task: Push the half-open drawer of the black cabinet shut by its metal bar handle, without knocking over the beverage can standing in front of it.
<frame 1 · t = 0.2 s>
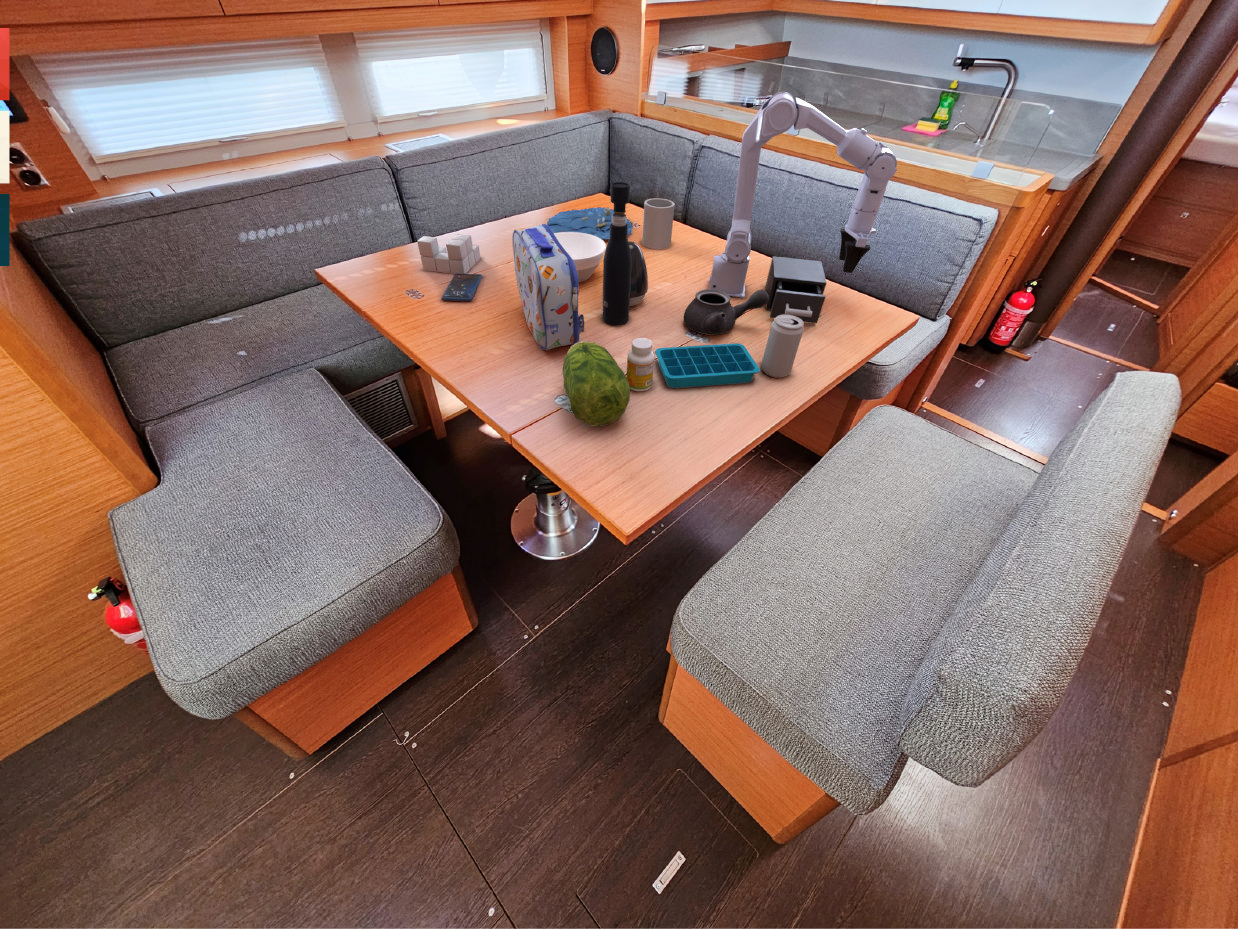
hand: (845, 265, 129), 10 cm above the table, tool pointing down, fingers open, 7 cm apart
cup: (656, 244, 162), on the table
lettuce: (591, 401, 101), on the table
drawer: (796, 300, 127), point 4 cm above the table, slide at 5.0 cm
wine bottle: (615, 320, 125), on the table
cabinet: (789, 300, 136), on the table
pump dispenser: (626, 302, 132), on the table
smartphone: (462, 289, 134), on the table
bowl: (570, 275, 143), on the table
supplement bottle: (638, 385, 106), on the table
blue sea diorama: (591, 228, 171), on the table
teapot: (722, 329, 124), on the table
puzzle cube: (453, 264, 145), on the table
ice cube tray: (704, 372, 110), on the table
lunch box: (549, 330, 120), on the table
beverage can: (774, 372, 111), on the table
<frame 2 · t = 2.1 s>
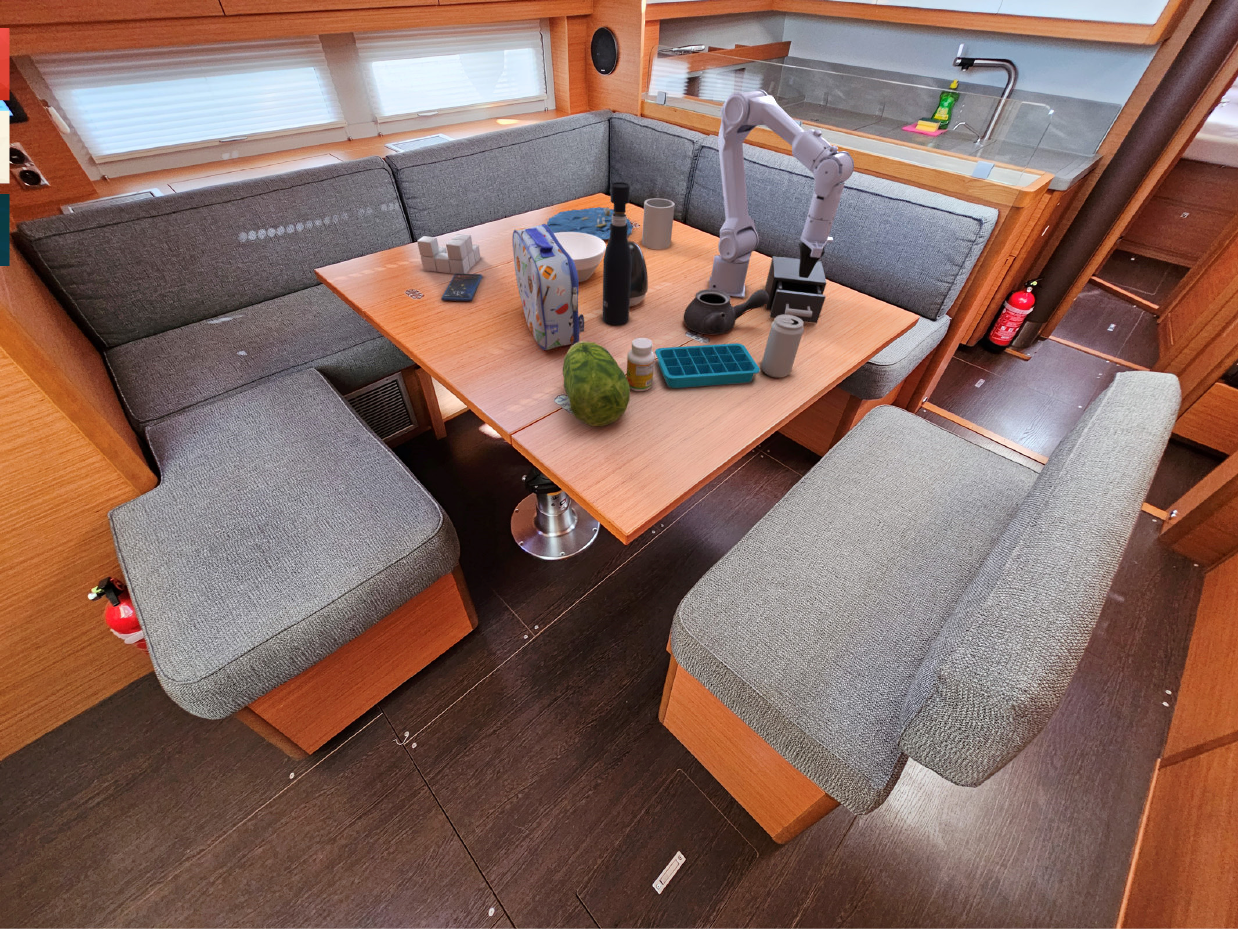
hand: (803, 276, 122), 10 cm above the table, tool pointing down, fingers closed
nothing on the table moved.
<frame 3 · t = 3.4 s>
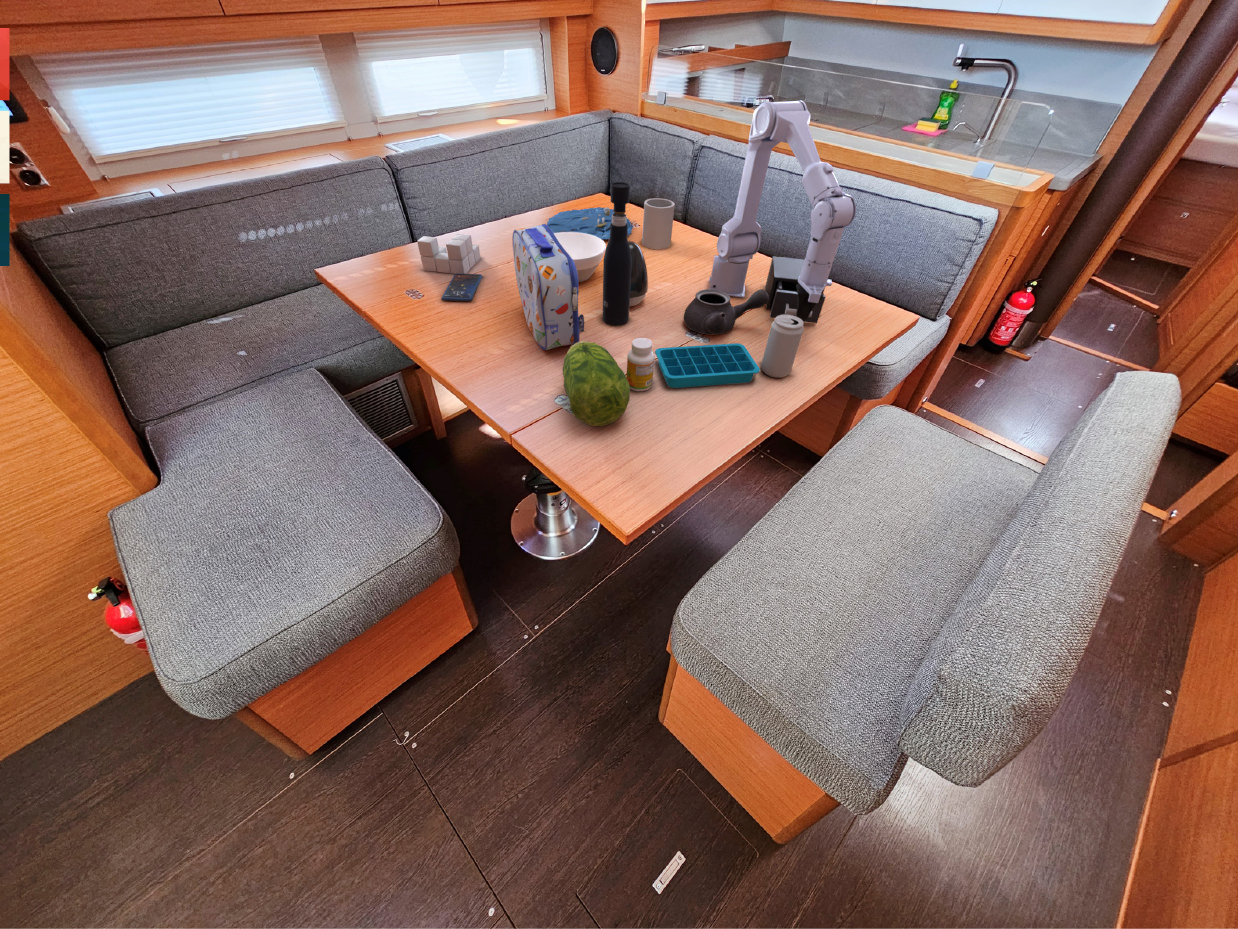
hand: (801, 318, 117), 6 cm above the table, tool pointing down, fingers closed
nothing on the table moved.
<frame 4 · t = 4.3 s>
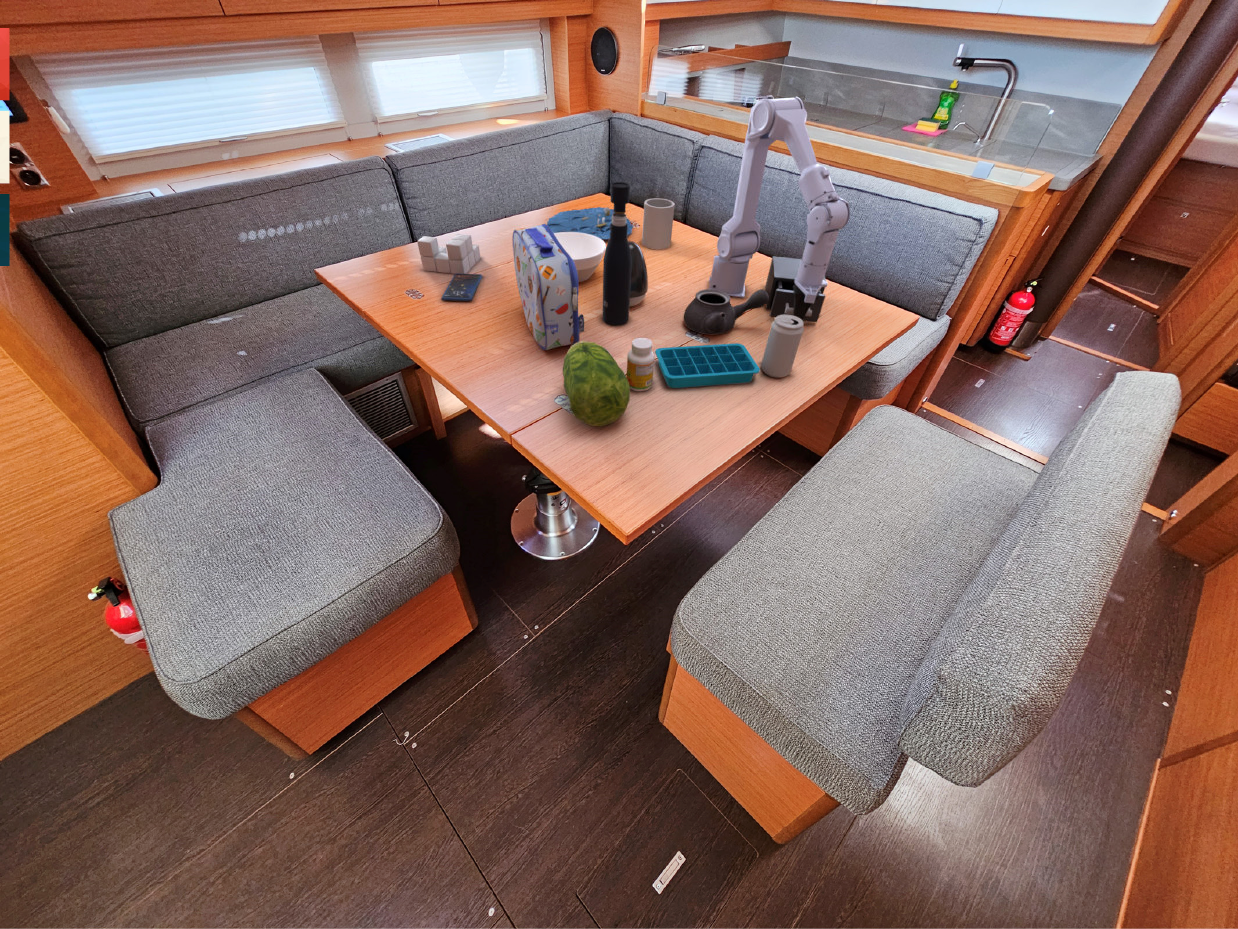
hand: (797, 318, 121), 4 cm above the table, tool pointing down, fingers closed
drawer: (795, 299, 127), point 4 cm above the table, slide at 4.6 cm, touching gripper
everything else where it was.
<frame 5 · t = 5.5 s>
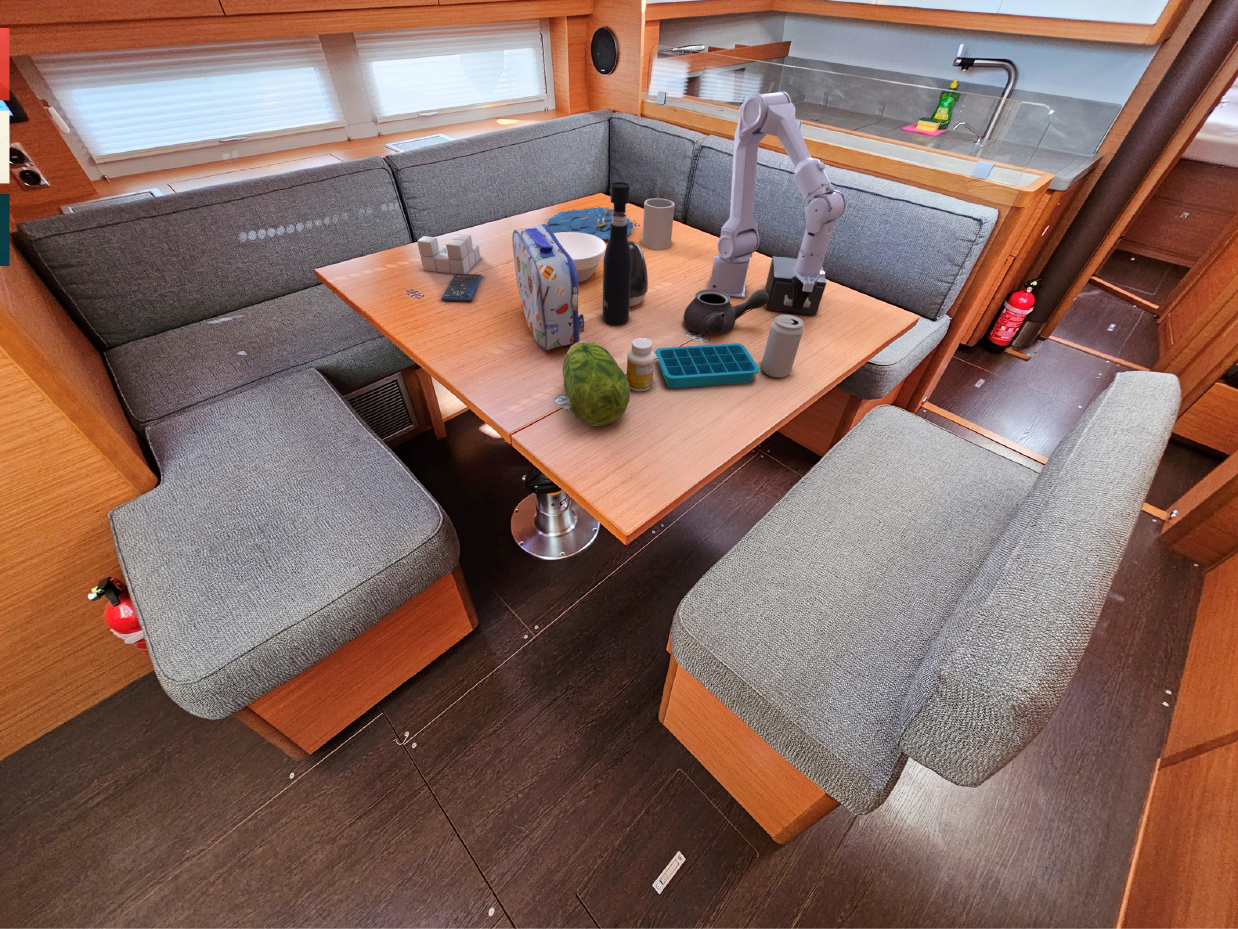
hand: (796, 308, 125), 4 cm above the table, tool pointing down, fingers closed, pressing on drawer
drawer: (794, 291, 130), point 4 cm above the table, slide at 0.0 cm, touching cabinet, gripper
everything else where it was.
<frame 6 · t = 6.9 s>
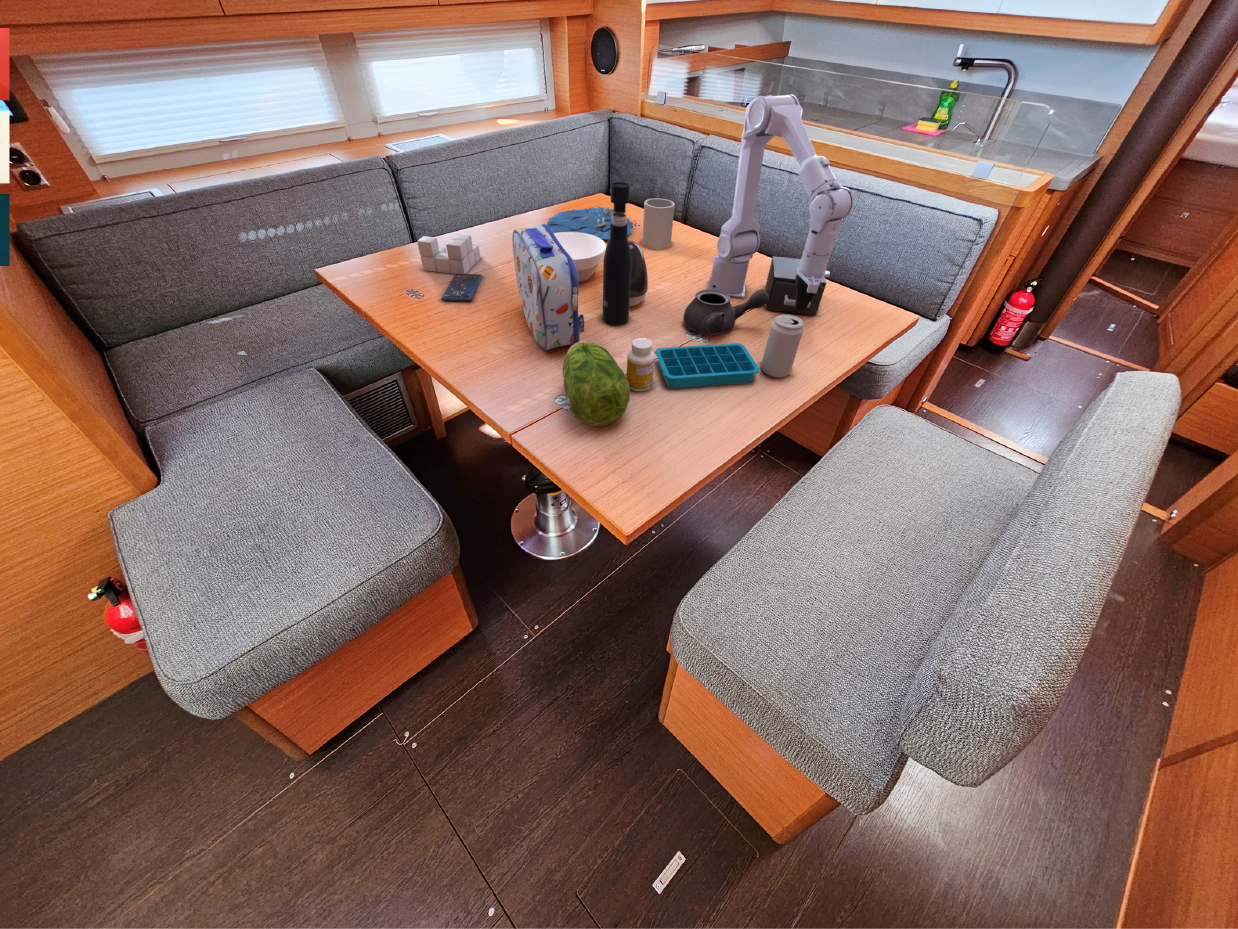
hand: (799, 309, 120), 6 cm above the table, tool pointing down, fingers closed
drawer: (794, 291, 130), point 4 cm above the table, slide at 0.0 cm, touching cabinet
everything else where it was.
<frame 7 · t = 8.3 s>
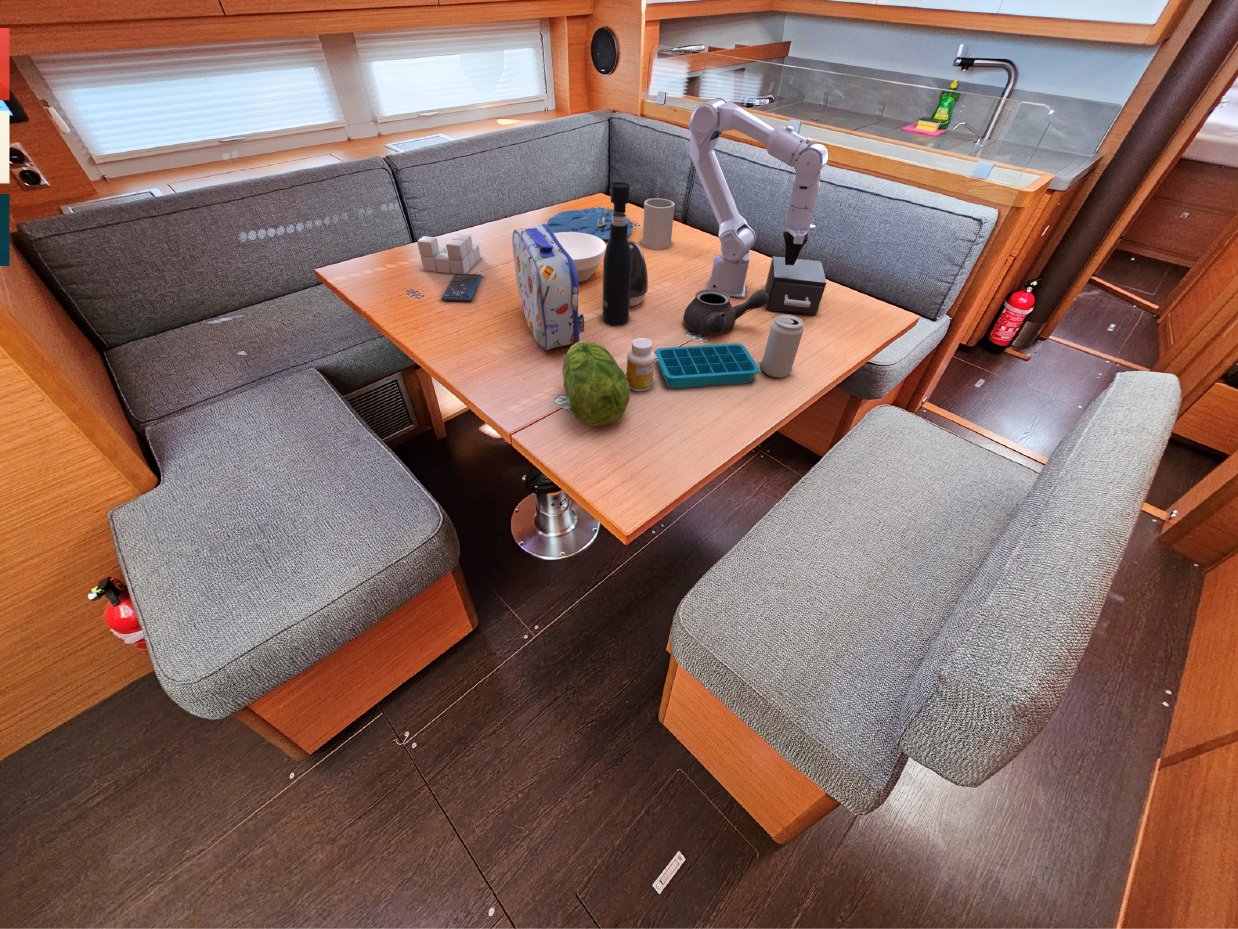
hand: (789, 264, 128), 10 cm above the table, tool pointing down, fingers closed
nothing on the table moved.
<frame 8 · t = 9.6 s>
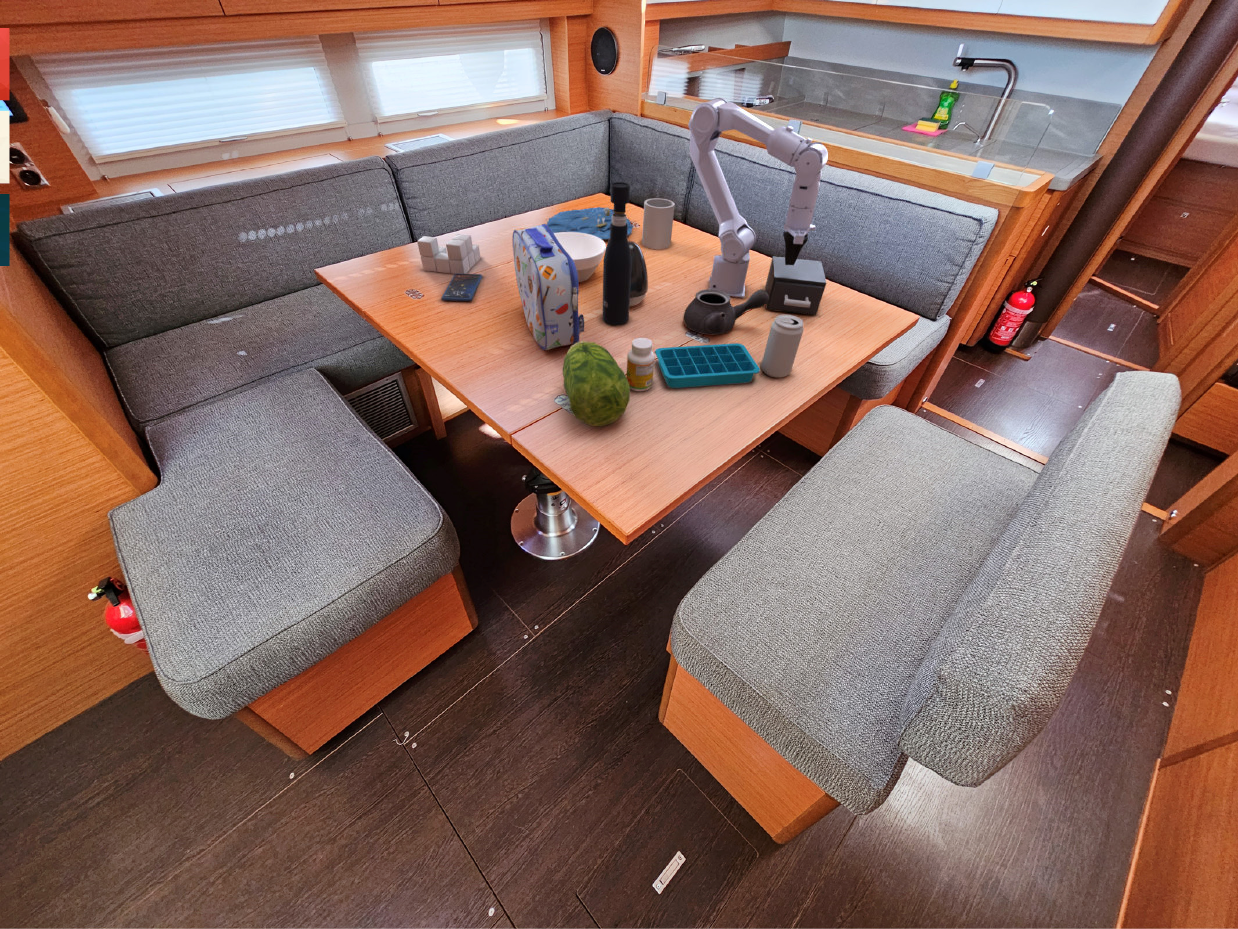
hand: (789, 264, 128), 10 cm above the table, tool pointing down, fingers closed
nothing on the table moved.
at the end: drawer slide at 0.0 cm; beverage can moved 0.2 cm from its start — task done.
